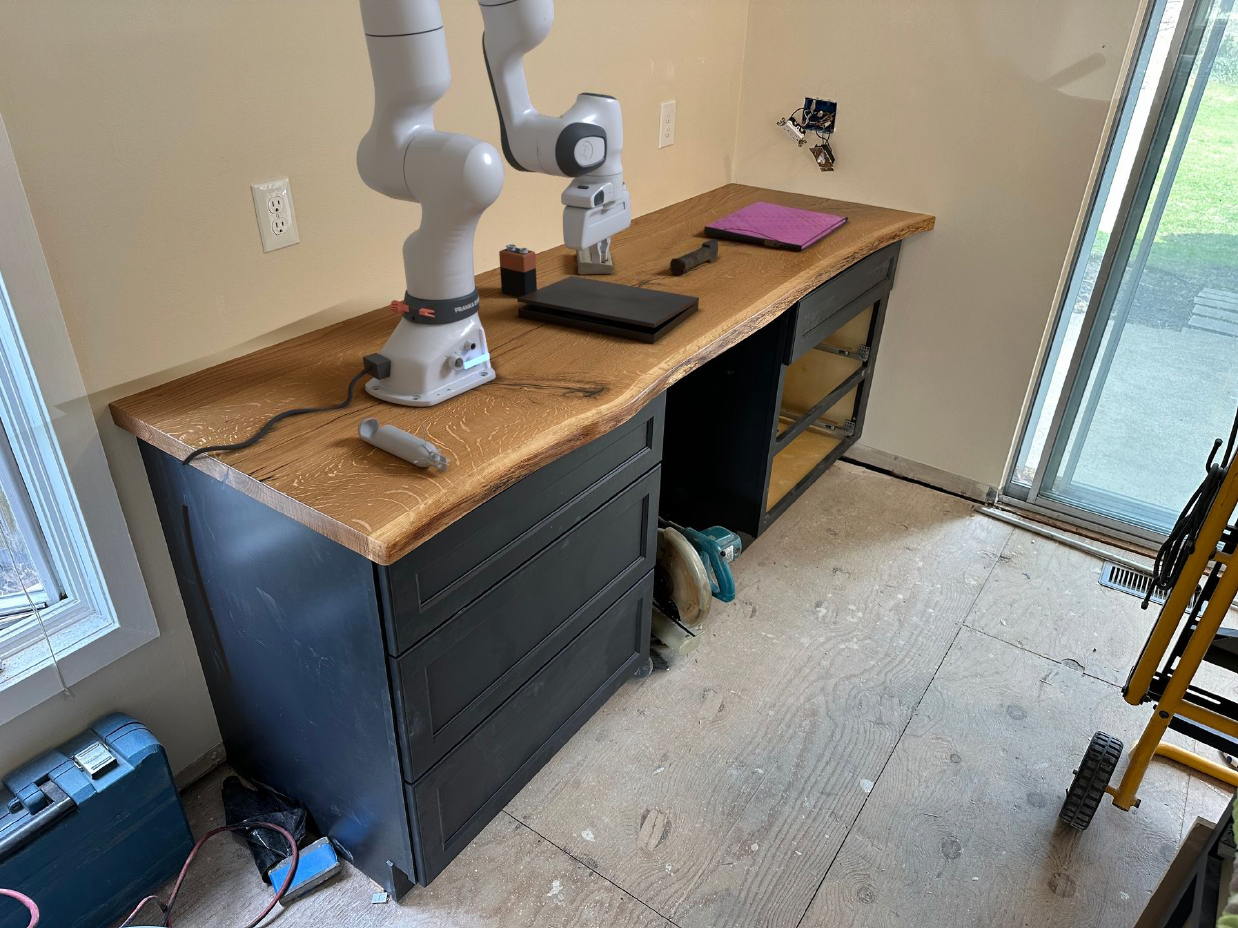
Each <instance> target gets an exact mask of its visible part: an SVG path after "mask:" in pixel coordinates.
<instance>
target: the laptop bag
mask: <svg viewBox="0 0 1238 928" xmlns="http://www.w3.org/2000/svg"><path fill="white" fill-rule="evenodd" d="M848 221H849V217H848V216H845V215H839V214H838V215H837V214H831V213H825V212H821V211H814V210H807V209H803V208H802V209H801V208H796V207H790V206H786V205H781V204H777V203H776V204H775V203H771V202H765V201H756V202H754V203H751V204H749V205H747V206H744V207H742V208H740V209H738V210H736V211H733V212H732V213H729V214H727V215H726V216H723V217H721V218H718V219H717V220H715V221H713V222H711V223H708V224H707V225H705V226H704V228H703V235H704V236H708V237H714V239H716V240H717V241H718V243H723V244H728V245H733V243H731V242H725V241H721V240H718V239H717V238H721V239H728V240H729V239H730V240H735V241H744V242H749V243H755V244H754V246H755V247H756V246H758V247H766V248H771V247H773V249H774V248H775V249H776V248H785V249H790V250H795V251H803V250H805V249H807V248H809V247H810V246H812V245H813V244H815V243H817V242H819V241H820V240H822V239H823V238H825V237H826V236H828V235H829V234H831V233H833V232H834V231H836V230H837V229H839V228H840V227H842V226H843V225H844V224H846V223H847V222H848ZM734 245H736V246H743V244H742V243H741V244H740V243H734Z"/></svg>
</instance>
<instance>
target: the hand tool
mask: <svg viewBox="0 0 1238 928" xmlns="http://www.w3.org/2000/svg"><path fill="white" fill-rule="evenodd" d="M717 240H718V239H717V238H716V239H715V238H713V239H709V240H706V241H703V242H702V244H701V247H699V248H697V249H695V250H693V251H691V252H688V253H686V254H684V255H681V256H679V257H677V258H675V257H674V258H671V260H670V262H669V270H670V272H671V274H672V275H676V276H682V275H684V274H687V273H688V271H689V270H691V269H694V268H695V267H698V266H699V265H701V264H704V263H712V262H714V261H715V259H717V257H718V255H719V240H718V241H717Z"/></svg>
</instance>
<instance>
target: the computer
mask: <svg viewBox="0 0 1238 928" xmlns="http://www.w3.org/2000/svg"><path fill="white" fill-rule="evenodd" d="M575 254H576V255H575V256H576V263H577V264H576V265H577V271H578V274H579V275H598V274H599V275H602V274H605V275H610V274H613V272H614V265H613V261H612V256H611V253H610V247H609V248H608V251H607V260H605V261H603V262H601V263H600V264H595V263H592V254H591V252H590V250H589V247H588V248H586V249H584V250H575Z"/></svg>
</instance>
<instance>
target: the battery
mask: <svg viewBox="0 0 1238 928" xmlns="http://www.w3.org/2000/svg"><path fill="white" fill-rule="evenodd" d="M498 257H499V270H500V271H499V274H500V286H501V287H500V288H501V292H502V293H503V294H507V295H511V296H515V297H518V298H519V297H521V296H524V295H526V294H529V293H531V292H534V291H536V290H538V286H537V285H538V283H537V260H536V258H537V257H536V252H535V251H534V250H530V249H528V248H527V247H521V248H520V247H517V245H516V244H513V243H512V244H511V243H510V244H506V245H505V248H504V249H501V250H499V251H498Z"/></svg>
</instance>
